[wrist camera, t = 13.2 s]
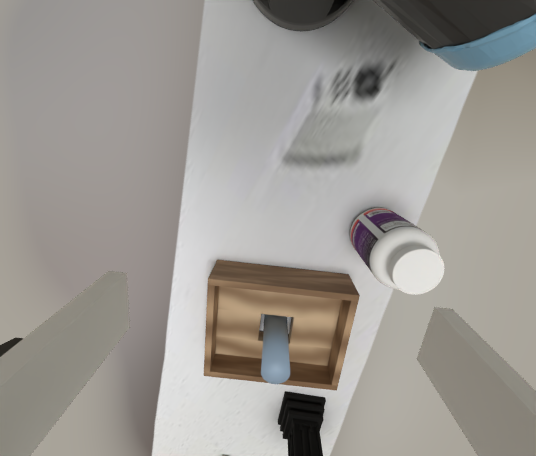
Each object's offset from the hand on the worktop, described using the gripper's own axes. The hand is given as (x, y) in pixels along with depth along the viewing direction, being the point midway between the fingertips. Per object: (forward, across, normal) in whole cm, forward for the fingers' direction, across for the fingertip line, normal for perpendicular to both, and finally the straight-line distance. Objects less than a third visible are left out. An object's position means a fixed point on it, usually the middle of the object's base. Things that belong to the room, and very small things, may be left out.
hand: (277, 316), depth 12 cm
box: (+32, +2, -22) cm, 39 cm away
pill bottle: (+32, +16, -5) cm, 36 cm away
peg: (+32, +2, -23) cm, 39 cm away
